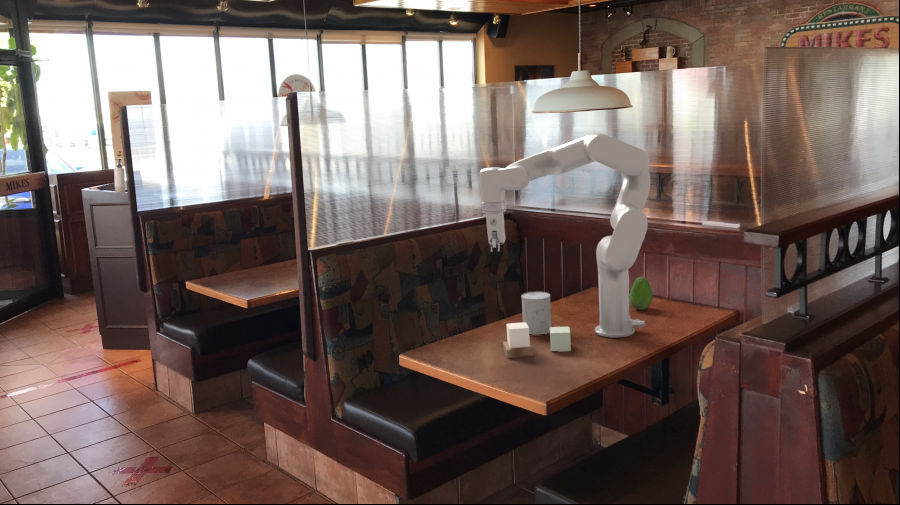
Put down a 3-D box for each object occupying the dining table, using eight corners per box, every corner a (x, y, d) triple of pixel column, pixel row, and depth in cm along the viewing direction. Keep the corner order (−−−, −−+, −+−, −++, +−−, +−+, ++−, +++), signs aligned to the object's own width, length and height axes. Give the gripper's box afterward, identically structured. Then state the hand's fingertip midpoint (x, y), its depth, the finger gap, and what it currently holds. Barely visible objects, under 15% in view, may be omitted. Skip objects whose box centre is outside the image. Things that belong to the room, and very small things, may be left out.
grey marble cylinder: (555, 327, 245) (553, 292, 243) (546, 336, 237) (545, 299, 234) (528, 325, 249) (526, 290, 247) (519, 334, 241) (517, 298, 238)
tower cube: (526, 340, 226) (525, 322, 225) (529, 346, 220) (528, 327, 219) (507, 342, 226) (506, 323, 225) (510, 348, 220) (509, 329, 219)
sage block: (569, 344, 227) (569, 326, 226) (570, 351, 221) (570, 332, 220) (550, 345, 228) (549, 327, 227) (551, 351, 222) (550, 333, 221)
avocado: (648, 313, 254) (648, 280, 251) (626, 311, 258) (626, 278, 255) (655, 307, 260) (655, 274, 258) (634, 305, 264) (633, 273, 262)
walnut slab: (528, 348, 228) (528, 339, 227) (533, 357, 220) (533, 347, 219) (503, 350, 227) (503, 341, 227) (507, 359, 219) (506, 350, 219)
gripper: (504, 210, 219) (507, 265, 222) (507, 202, 235) (510, 254, 239) (479, 211, 220) (483, 267, 223) (484, 203, 237) (487, 255, 240)
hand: (497, 260), depth 231 cm, fingers open, 9 cm apart
